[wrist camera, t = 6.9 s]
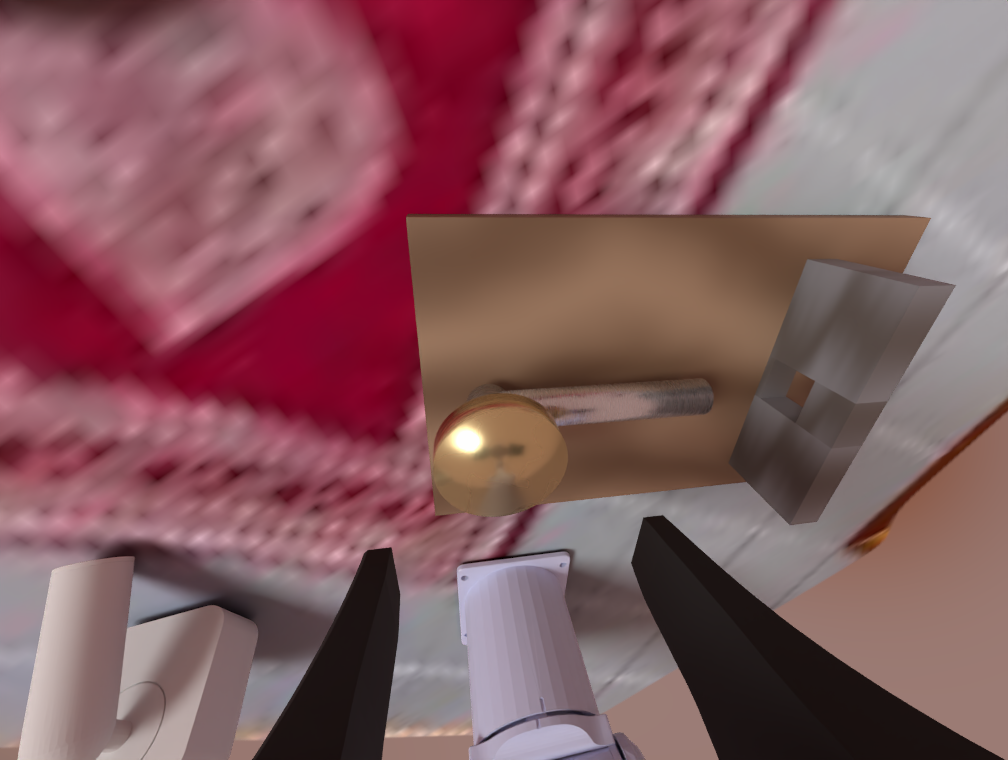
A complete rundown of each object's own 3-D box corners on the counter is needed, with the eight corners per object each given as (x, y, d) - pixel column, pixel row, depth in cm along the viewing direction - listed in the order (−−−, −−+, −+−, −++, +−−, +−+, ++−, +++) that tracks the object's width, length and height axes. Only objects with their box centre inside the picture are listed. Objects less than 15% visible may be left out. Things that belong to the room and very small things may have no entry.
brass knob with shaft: (678, 427, 21) (737, 489, 17) (437, 447, 19) (438, 523, 15) (703, 342, 18) (779, 391, 14) (430, 356, 17) (427, 416, 12)
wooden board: (784, 464, 27) (868, 535, 21) (435, 500, 23) (435, 595, 18) (903, 215, 19) (1080, 232, 14) (408, 214, 15) (393, 236, 10)
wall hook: (154, 521, 20) (16, 798, 13) (270, 586, 27) (223, 787, 20) (0, 563, 20) (-228, 868, 13) (158, 617, 27) (70, 831, 20)
